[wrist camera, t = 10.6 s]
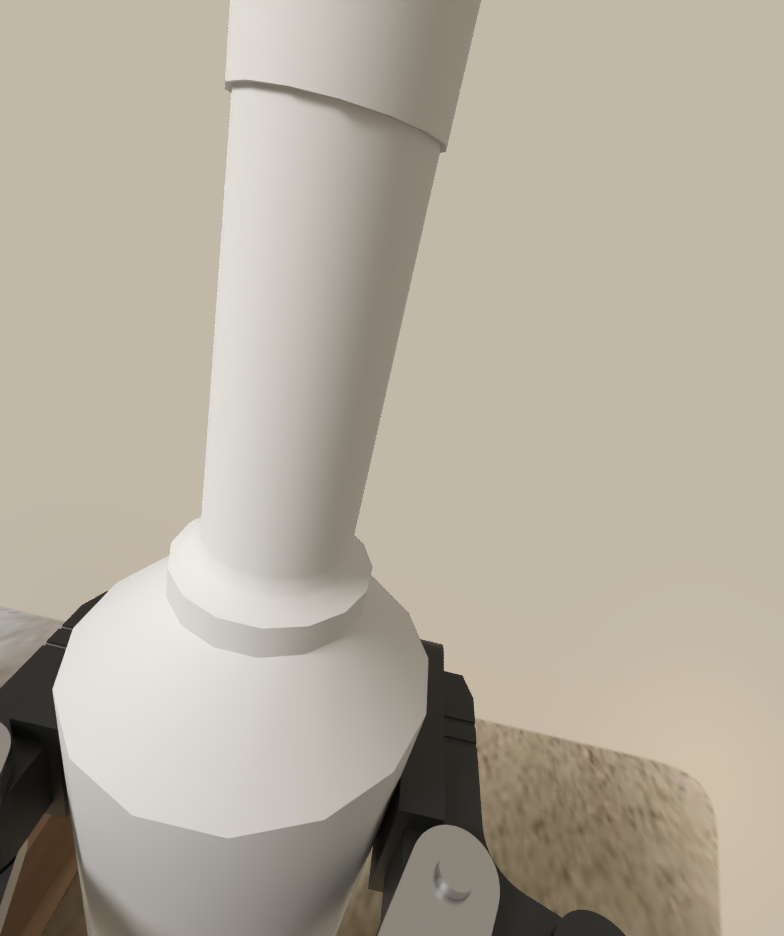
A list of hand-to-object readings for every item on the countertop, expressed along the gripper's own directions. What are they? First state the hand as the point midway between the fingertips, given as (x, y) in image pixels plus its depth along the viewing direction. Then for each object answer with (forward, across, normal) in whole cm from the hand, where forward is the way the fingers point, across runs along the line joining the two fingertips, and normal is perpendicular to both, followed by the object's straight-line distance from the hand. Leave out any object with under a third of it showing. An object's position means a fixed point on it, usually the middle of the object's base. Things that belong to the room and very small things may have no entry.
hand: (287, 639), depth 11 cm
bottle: (-3, 0, +14) cm, 14 cm away
